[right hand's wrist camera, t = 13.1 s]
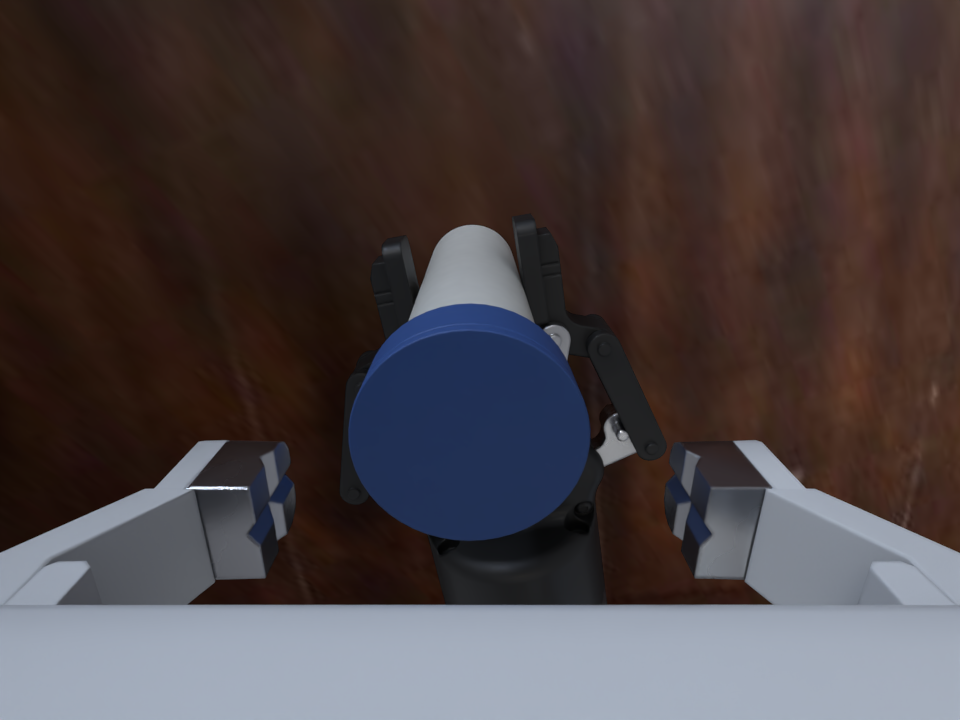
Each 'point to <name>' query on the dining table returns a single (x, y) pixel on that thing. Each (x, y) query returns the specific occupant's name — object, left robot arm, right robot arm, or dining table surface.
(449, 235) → the white long cylinder
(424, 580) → the dining table surface
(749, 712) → the right robot arm
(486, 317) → the lid
